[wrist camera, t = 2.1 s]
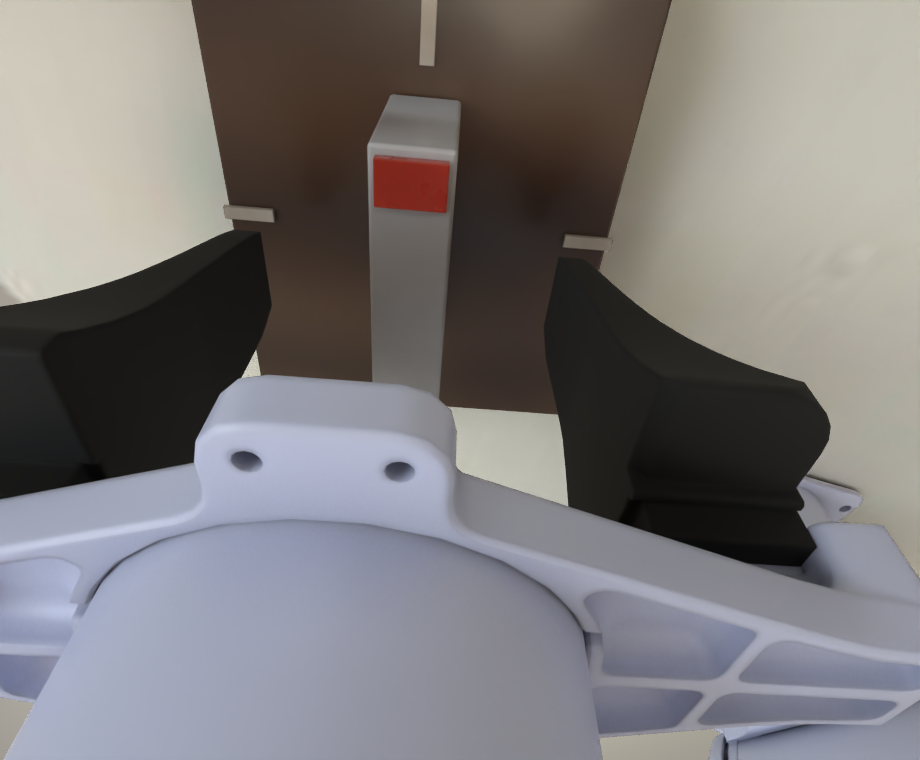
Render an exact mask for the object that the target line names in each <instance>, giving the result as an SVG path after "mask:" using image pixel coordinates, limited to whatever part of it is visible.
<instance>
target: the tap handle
mask: <svg viewBox="0 0 920 760" xmlns="http://www.w3.org/2000/svg"><path fill="white" fill-rule="evenodd" d="M460 118H461V102H460V101H458V100H447V99H437V98H426V97H416V96H405V95H395V94H393V95H391V96H390V98H389V100H388V102H387V104H386V106H385V108H384V111H383V113H382V115H381V117H380V119H379V121H378V124H377V126H376V128H375V130H374V132H373V134H372V136H371V139H370V141H369V143H368V145H367V159H368V204H369V250H370V296H371V341H372V382H375V383H389V384H402V385H405V386H409V387H412V388H416V389H420V390H423V391H427V392H430V393H432V394H433V395H434V396H435V397H437V398H438V399H439V391H440V378H441V366H442V353H443V341H444V328H445V315H446V303H447V290H448V277H449V265H450V252H451V239H452V227H453V214H454V202H455V189H456V176H457V164H458V150H459V134H460Z"/></svg>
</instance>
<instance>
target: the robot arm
mask: <svg viewBox="0 0 920 760" xmlns="http://www.w3.org/2000/svg"><path fill="white" fill-rule="evenodd" d="M271 307H272V302H271V295H270V289H269V282H268V276H267V269H266V263H265V256H264V250H263V244H262V237H261V232H258V231H246V230H232V231H229V232H226V233H223V234H221V235H219V236H216V237H214V238H212V239H210V240H208V241H206V242H204V243H202V244H200V245H197V246H195V247H193V248H191V249H189V250H187V251H185V252H183V253H181V254H179V255H177V256H174V257H172V258H170V259H168V260H165V261H163V262H161V263H158V264H156V265H154V266H151V267H149V268H147V269H144V270H142V271H140V272H137V273H135V274H132V275H129V276H126V277H124V278H121V279H118V280H115V281H112V282H109V283H105V284H102V285H99V286H96V287H92V288H89V289H85V290H81V291H77V292H73V293H68V294H64V295H60V296H56V297H52V298H48V299H43V300H38V301H32V302H27V303H21V304H15V305H9V306H2V307H0V698H6V699H12V700H18V701H24V702H30V703H34V705H33V707H32V709H31V711H30V712H29V714H28V716H27V718H26V720H25V721H24V723H23V725H22V727H21V729H20V730H19V732H18V734H17V736H16V738H15V739H14V741H13V743H12V745H11V747H10V748H9V750H8V752H7V754H6V756H5V757H4V759H3V760H603V759H602V752H601V746H600V739H599V738H602V737H603V738H604V737H617V736H628V735H629V736H630V735H643V734H656V733H668V732H680V731H681V732H682V731H694V730H707V729H714V730H716V731H717V732H719V733H721V734H720V735H717V736H716V737H715V738H714V739H713V741H712V744H711V747H710V753H709V758H708V760H920V579H919V577H918V576H917V574H916V573H915V571H914V570H913V568H912V567H911V565H910V564H909V562H908V561H907V559H906V558H905V556H904V555H903V553H902V552H901V550H900V549H899V548H898V546H897V545H896V543H895V542H894V540H893V539H892V537H891V536H890V534H889V533H888V531H887V530H886V528H885V527H884V526H881V525H876V524H860V523H845V522H838V521H840V520H841V519H842V518H844V517H845V516H846V515H847V514H849V513H850V512H851V511H853V510H854V509H855V508H857V507H858V506H859V505H860V504H861V503H862V502H863V497H862V496H861V494H860V493H859V492H857V491H854V490H851V489H847V488H844V487H840V486H837V485H833V484H830V483H827V482H823V481H820V480H816V479H813V478H809V477H806V476H805V475H806V474H807V473H808V471H809V470H810V469H811V467H812V466H813V464H814V463H815V462H816V460H817V459H818V458H819V456H820V455H821V453H822V452H823V450H824V448H825V446H826V444H827V442H828V440H829V435H830V428H831V426H830V423H829V419H828V416H827V413H826V412H825V411H824V409H823V408H822V406H821V405H820V404H819V402H818V401H817V399H816V398H815V397H814V395H813V394H812V392H811V391H810V390H809V388H808V387H807V385H806V384H805V383H804V382H801V381H798V380H794V379H791V378H788V377H784V376H781V375H777V374H774V373H771V372H767V371H764V370H761V369H758V368H755V367H752V366H750V365H747V364H744V363H742V362H739V361H736V360H734V359H731V358H729V357H726V356H724V355H722V354H719V353H717V352H715V351H713V350H711V349H708V348H706V347H704V346H702V345H700V344H698V343H696V342H694V341H692V340H690V339H688V338H687V337H685V336H683V335H681V334H679V333H678V332H676V331H675V330H673V329H671V328H670V327H668V326H666V325H665V324H663V323H662V322H660V321H659V320H657V319H656V318H654V317H653V316H651V315H650V314H649V313H647V312H646V311H645V310H643V309H642V308H641V307H639V306H638V305H637V304H635V303H634V302H633V301H632V300H631V299H629V298H628V297H627V296H626V295H625V294H623V293H622V292H621V291H620V290H619V289H618V288H616V287H615V286H614V285H613V284H612V283H611V282H610V281H609V280H608V279H606V278H605V277H604V276H603V275H602V274H601V273H600V272H599V271H598V270H597V269H595V268H594V267H593V266H592V265H591V264H590V263H588V262H587V261H586V260H584V259H579V258H567V257H558V262H557V267H556V271H555V276H554V281H553V285H552V290H551V295H550V299H549V304H548V308H547V313H546V318H545V322H544V343H545V356H546V362H547V367H548V372H549V376H550V381H551V385H552V390H553V394H554V399H555V403H556V408H557V412H558V416H559V421H560V426H561V432H562V438H563V447H564V457H565V467H566V480H567V493H568V506H565V505H562V504H559V503H556V502H553V501H549V500H546V499H543V498H540V497H537V496H534V495H531V494H527V493H524V492H521V491H518V490H515V489H512V488H509V487H505V486H502V485H499V484H496V483H493V482H490V481H487V480H483V479H480V478H477V477H474V476H471V475H468V474H465V473H463V472H461V471H460V470H458V468H457V466H456V435H457V431H456V427H455V423H454V419H453V415H452V412H451V410H450V409H449V408H448V407H447V406H446V405H445V404H443V403H442V402H441V401H440V400H439V399H438V398H437V397H435V396H434V395H433V394H432V393H430V392H427V391H423V390H420V389H416V388H412V387H409V386H405V385H402V384H389V383H375V382H362V381H348V380H334V379H321V378H307V377H294V376H280V375H261V376H254V377H247V378H241V377H242V375H243V373H244V371H245V370H246V368H247V366H248V364H249V362H250V360H251V358H252V356H253V354H254V352H255V350H256V348H257V346H258V344H259V342H260V340H261V338H262V336H263V333H264V330H265V327H266V324H267V320H268V317H269V314H270V310H271Z"/></svg>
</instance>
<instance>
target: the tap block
mask: <svg viewBox="0 0 920 760" xmlns="http://www.w3.org/2000/svg"><path fill="white" fill-rule="evenodd" d="M191 1H192V6H193V12H194V17H195V23H196V28H197V33H198V39H199V44H200V49H201V55H202V60H203V66H204V71H205V76H206V82H207V87H208V92H209V98H210V103H211V109H212V114H213V119H214V125H215V130H216V135H217V141H218V146H219V152H220V157H221V162H222V168H223V173H224V179H225V184H226V189H227V195H228V200H229V205H224V206H223V209H224V214H225V218H227V219H232V222H233V227H234V230H246V231H258V232H261V237H262V244H263V250H264V256H265V263H266V269H267V276H268V282H269V289H270V295H271V302H272V307H271V310H270V314H269V317H268V320H267V324H266V327H265V330H264V333H263V336H262V338H261V340H260V342H259V344H258V346H257V348H256V351H257V356H258V361H259V367H260V372H261V375H280V376H294V377H307V378H321V379H334V380H348V381H362V382H372V341H371V296H370V250H369V204H368V159H367V145H368V143H369V141H370V139H371V136H372V134H373V132H374V130H375V128H376V126H377V124H378V121H379V119H380V117H381V115H382V113H383V111H384V108H385V106H386V104H387V102H388V100H389V98H390V96H391V95H393V94H395V95H405V96H416V97H426V98H437V99H447V100H458V101H460V102H461V118H460V134H459V150H458V164H457V176H456V189H455V202H454V214H453V227H452V239H451V252H450V265H449V277H448V290H447V303H446V315H445V328H444V341H443V353H442V366H441V378H440V391H439V400H440V401H441V402H442V403H443V404H445V405H446V406H449V407H462V408H476V409H489V410H503V411H517V412H530V413H544V414H557V415H558V412H557V408H556V403H555V399H554V394H553V390H552V385H551V381H550V376H549V372H548V367H547V362H546V356H545V343H544V322H545V318H546V313H547V308H548V304H549V299H550V295H551V290H552V285H553V281H554V276H555V271H556V267H557V262H558V257H567V258H579V259H584V260H586V261H587V262H588V263H590V264H591V265H592V266H593V267H594V268H595V269H597V270H598V271H599V268H600V264H601V260H602V257H603V253H604V251H610V248H611V245H612V241H613V240H612V238H608V235H609V231H610V227H611V223H612V220H613V216H614V212H615V209H616V205H617V201H618V198H619V194H620V190H621V186H622V183H623V179H624V175H625V172H626V168H627V164H628V161H629V157H630V153H631V149H632V146H633V142H634V138H635V135H636V131H637V127H638V124H639V120H640V116H641V112H642V109H643V105H644V101H645V98H646V94H647V90H648V87H649V83H650V79H651V76H652V72H653V68H654V64H655V61H656V57H657V53H658V50H659V46H660V42H661V39H662V35H663V31H664V27H665V24H666V20H667V16H668V13H669V9H670V5H671V2H672V0H191Z"/></svg>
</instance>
